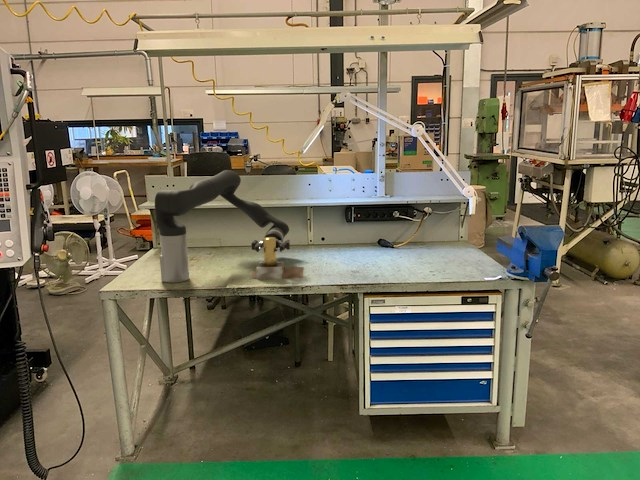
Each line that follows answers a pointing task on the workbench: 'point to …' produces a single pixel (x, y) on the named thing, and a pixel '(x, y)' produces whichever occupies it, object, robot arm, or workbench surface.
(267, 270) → the socket block
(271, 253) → the golden metal peg
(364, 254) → the workbench surface
